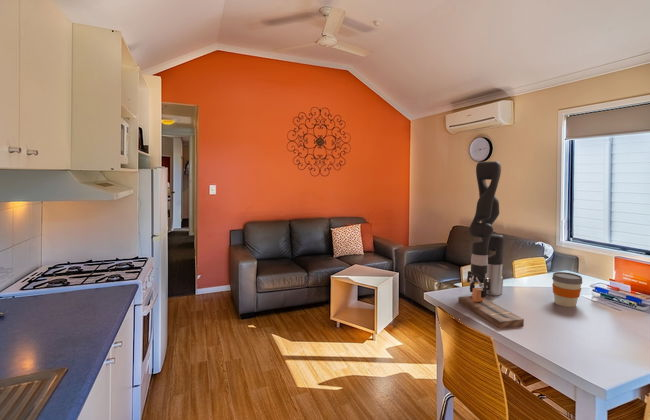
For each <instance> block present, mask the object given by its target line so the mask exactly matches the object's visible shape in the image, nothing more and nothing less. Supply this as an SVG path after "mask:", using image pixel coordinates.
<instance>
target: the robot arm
mask: <svg viewBox="0 0 650 420" xmlns="http://www.w3.org/2000/svg"><path fill="white" fill-rule="evenodd" d="M501 165H502V164H501V163H500V162H499V161H497V160H496V161H495V160H494V161H479V162H478V163H476V167H475V174H476V182H477V186H478V194H479V195H478V196H479V197H478V199H477V202H476V209H475V213H474V214H475V215H474V217H473V219H472V221H471V223H470V226H469V228H468V232H469V235H470V236H471V237H475V238H481V240H479V241H474V242H473V243H472V247H471V248H472V249H471V258H470V270H467V276H466V277H467V278H466V282H467V283H468V284H469V292H470V293H472V292H473V288H476V285H475V284H477V285H478V286H479V288H481V298H485V299H486V298H487V295H489V296H501V295H502V294H503V288H504V277H503V263H504V262H503V260H504V250H505V242H506V241H505V236H504V235H502V234H494V227H493V224H494V223H495V221H496V220H497V218H498V217H499V215H500V203H499V200H498V198H497V196H496V192H497V189H498V185H499V183H500V182H499V181H500V178H501V174H502V173H501V172H502V166H501ZM486 180H487V181H488V180H489V181H490V183H489V185H488V184H487V181H486ZM489 251H490V252H491V251H492V252H494V254H492V255H488V254H489V253H488V252H489Z"/></svg>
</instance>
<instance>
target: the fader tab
mask: <svg viewBox="0 0 650 420" xmlns="http://www.w3.org/2000/svg"><path fill="white" fill-rule="evenodd" d="M471 293H472V295H471V296H472V300H473V301H475V302H481V301H483V298H481V287H475V288H473V292H471Z"/></svg>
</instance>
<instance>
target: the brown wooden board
mask: <svg viewBox="0 0 650 420" xmlns="http://www.w3.org/2000/svg"><path fill="white" fill-rule="evenodd" d="M457 299H458V301H457V302H458V303H459V305H461V306H463V307H464V308H466V309H467V310H470V311H471V312H473V313H474V314H476V315H477V316H479V317H480V318H482V319H484V320H486V321H487V322H489V323H490V324H492V325H494V326H495V327H497V328H499V329H507V328H514V327H523V326H525V325H524V323H525V322H524V321H525V319H524V318H522V317H521V316H519V315H517V314H515V313H513V312H511V311H509V310H507V309H506V308H503V307H502V306H500V305H498V304H496V303H494V302H492V301H491V300H488V299H486V298H483V301H481V302H475V301H473V300H472V295H469V296H458V298H457Z"/></svg>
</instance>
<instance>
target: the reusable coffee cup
mask: <svg viewBox="0 0 650 420" xmlns="http://www.w3.org/2000/svg"><path fill="white" fill-rule="evenodd" d="M551 278H552V293H553V295H554V303H555V304H556V305H557V306H558V305H559V306H561V307H566V308H575V307H576V306H577V303H578V299H579V298H580V294H581V290H582V288H581V287H582V284H583V277H582V276H581V275H579V274H577V273H572V272H571V273H570V272H566V271H556V272H555V271H554V272H553V273H552V277H551Z"/></svg>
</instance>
